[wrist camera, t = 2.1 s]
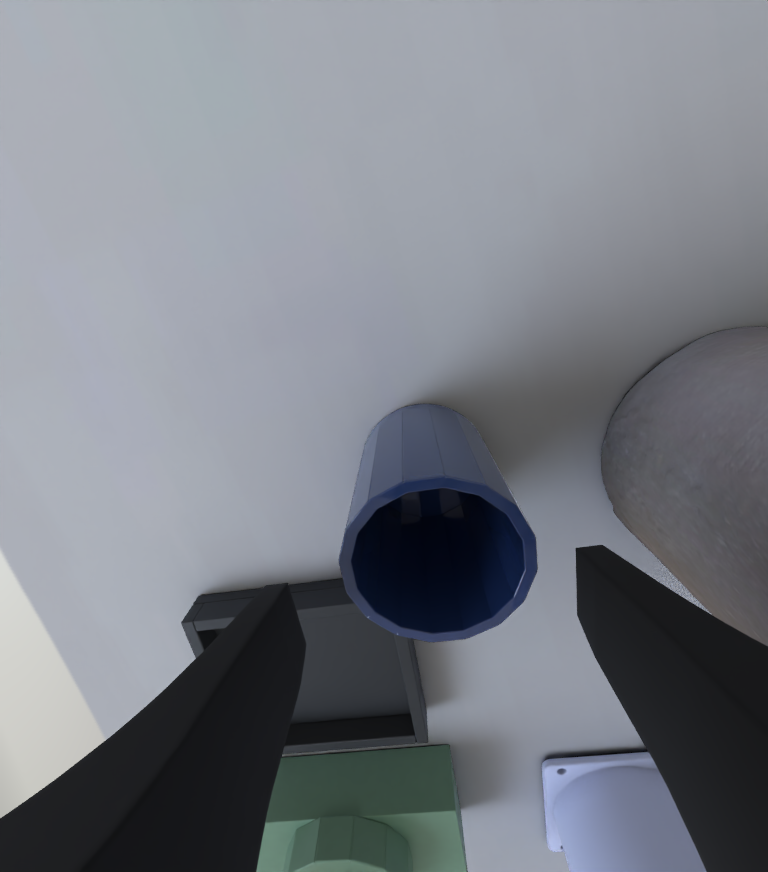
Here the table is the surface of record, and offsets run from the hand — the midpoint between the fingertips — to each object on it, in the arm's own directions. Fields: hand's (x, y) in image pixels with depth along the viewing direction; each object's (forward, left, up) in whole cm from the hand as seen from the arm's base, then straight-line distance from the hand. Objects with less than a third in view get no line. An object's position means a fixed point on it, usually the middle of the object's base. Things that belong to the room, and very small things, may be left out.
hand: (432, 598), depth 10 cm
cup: (0, 0, -8) cm, 8 cm away
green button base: (+7, +20, -8) cm, 23 cm away
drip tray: (+7, +10, -8) cm, 14 cm away
